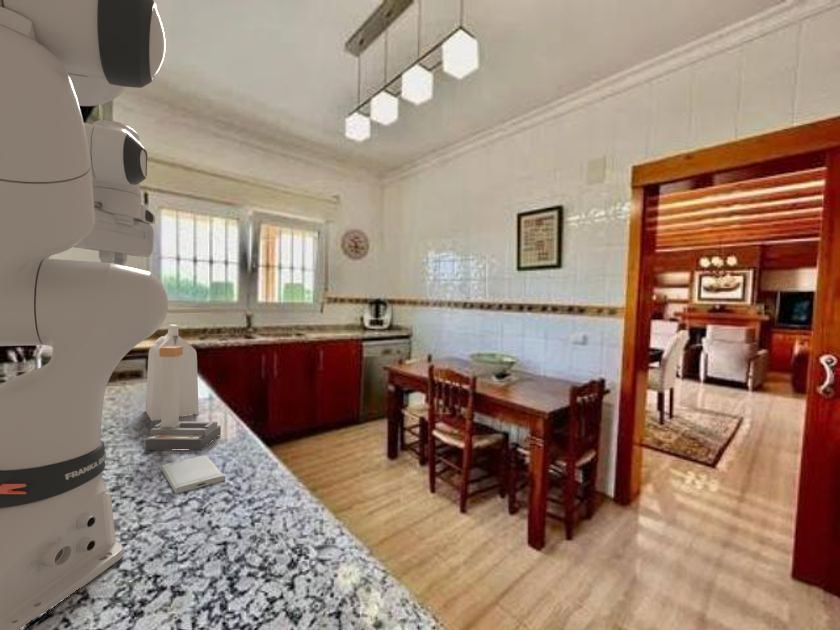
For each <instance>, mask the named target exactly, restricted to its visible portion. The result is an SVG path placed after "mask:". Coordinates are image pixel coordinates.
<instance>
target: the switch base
mask: <svg viewBox="0 0 840 630" xmlns="http://www.w3.org/2000/svg"><path fill="white" fill-rule="evenodd" d="M179 423H180V428H160V427H161V422H159V423H157V424H155V425H154V426H153V428H151V429H150V436H149V437H147V438H145V440H144V443H145V445H144V450H145V451H173V450H172V449H189V450H188V451H202V450H203V449H205V448H206V447H207V446H208V445H207V444H209V443H210V442H211V441H212V440H214V439H215V438H216V437H217V436H218V435H220V436H221V430H222V429H221V426H222V425H218V421H180V420H179ZM217 438H218V437H217ZM217 438H216V439H217ZM216 439H215V440H216ZM215 440H214V441H215ZM212 442H213V441H212ZM212 442H211V443H212ZM211 443H210V444H211ZM210 444H209V445H210ZM206 445H207V446H206ZM205 446H206V447H205ZM204 447H205V448H204ZM202 448H203V449H202ZM201 449H202V450H201Z"/></svg>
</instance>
